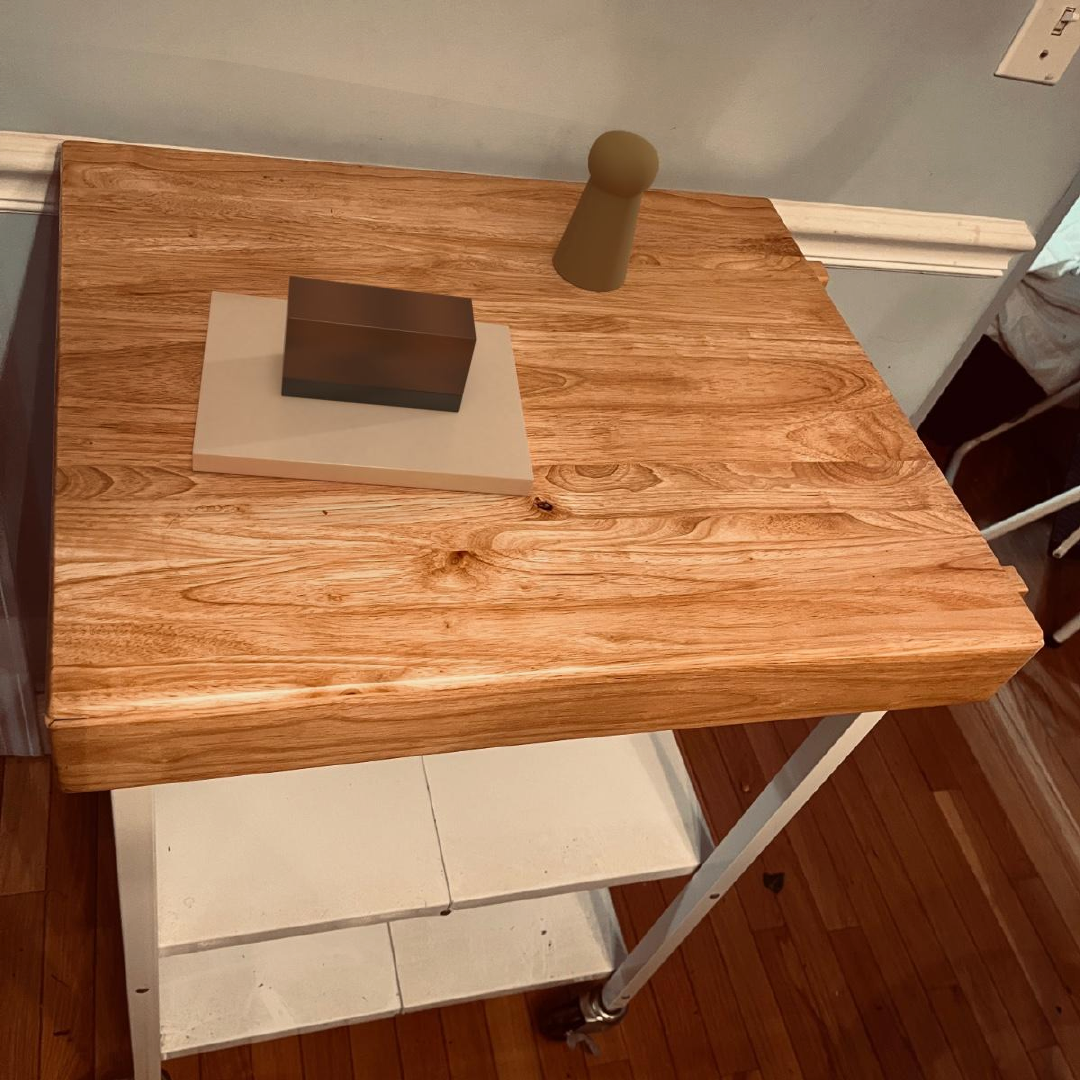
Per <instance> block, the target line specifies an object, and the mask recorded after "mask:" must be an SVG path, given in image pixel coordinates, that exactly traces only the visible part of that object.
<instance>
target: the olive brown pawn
mask: <svg viewBox="0 0 1080 1080" xmlns="http://www.w3.org/2000/svg"><path fill="white" fill-rule="evenodd" d="M659 168H660V160H659V155H658V151H657V149H656V148H655V146H654V145H653V144H652V143H651V142H650V141H648V140H647V139H646V138H645V137H643V136H641V135H639V134H637V133H635V132H631V131H626V130H620V129H619V130H617V129H614V130H609V131H605V132H603V133H602V134H600V135H599V136H598V137H597V138H596V139H595V141H593V143H592V145H591V147H590V150H589V153H588V156H587V169H588V173H589V175H590V176H589V177H588V180H587V182H586V185H585V186H584V188H583V191H582V193H581V195H580V198H579V199H578V202H577V204H576V206H575V208H574V210H573V212H572V214H571V217H570V219H569V221H568V223H567V225H566V228H565V230H564V232H563V233H562V236H561V239H560V241H559V243H558V245H557V247H556V249H555V252H554V254H553V256H552V264H553V265H552V266H553V268H554V269H555V270H556V272H557V274H558V275H560V276H561V277H562V278H563V279H564V280H565V281H567V282H568V283H571V284H572V285H574V286H575V287H578V288H581V289H584V290H586V291H594V292H598V293H599V292H611V291H614V290H617V289H619V288H621V286H623V285H624V283H625V281H626V277H627V272H628V267H629V263H630V259H631V254H632V253H631V252H632V248H633V243H634V238H635V233H636V228H637V223H638V219H639V212H640V209H641V203H642V198H643V195H644V194H643V193H645V192H646V191H647V190H649V189H650V188H651V186H652V185H653V184H654V182H655V180H656V177H657V174H658V172H659Z"/></svg>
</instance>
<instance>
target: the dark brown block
mask: <svg viewBox="0 0 1080 1080" xmlns="http://www.w3.org/2000/svg"><path fill="white" fill-rule="evenodd" d="M286 300H287V311H286V323H285V337H284V348H283V365H282V385H281V395H282V396H289V397H299V398H310V399H320V400H331V401H341V402H352V403H362V404H373V405H383V406H394V407H404V408H415V409H425V410H436V411H446V412H457V413H458V412H459V409H460V405H461V401H462V397H463V393H464V389H465V385H466V381H467V377H468V373H469V369H470V365H471V361H472V357H473V353H474V349H475V345H476V341H477V337H476V329H475V322H476V321H475V314H474V307H473V299H472V298H471V297H465V296H455V295H450V294H449V295H448V294H440V293H432V292H425V291H424V292H423V291H415V290H409V289H408V290H407V289H400V288H392V287H385V286H375V285H369V284H367V285H366V284H359V283H351V282H343V281H334V280H326V279H318V278H311V277H302V276H296V275H294V276H293V275H289V277H288V288H287V299H286Z"/></svg>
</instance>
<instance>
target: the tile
mask: <svg viewBox="0 0 1080 1080" xmlns="http://www.w3.org/2000/svg"><path fill="white" fill-rule="evenodd" d="M286 311H287V299H285V298H278V297H277V298H276V297H269V296H268V297H267V296H260V295H251V294H244V293H243V294H242V293H235V292H227V291H216V290H212V291H211V296H210V304H209V313H208V321H207V327H206V328H207V329H206V337H205V345H204V354H203V363H202V370H201V379H200V387H199V394H198V404H197V412H196V420H195V429H194V436H193V444H192V453H191V455H192V456H191V457H192V458H191V459H192V460H191V461H192V462H191V463H192V471H193V472H202V473H203V472H204V473H215V474H216V473H217V474H228V475H229V474H230V475H243V476H244V475H245V476H255V477H267V478H268V477H269V478H270V477H271V478H283V479H298V480H310V481H324V482H335V483H349V484H364V485H376V486H389V487H404V488H414V489H415V488H416V489H430V490H443V491H454V492H455V491H457V492H466V493H467V492H470V493H482V494H495V495H496V494H497V495H510V496H521V497H529V496H530V493H531V490H532V487H533V485H534V481H535V478H534V471H533V466H532V461H531V460H532V459H531V454H530V447H529V441H528V433H527V430H526V423H525V422H526V421H525V417H524V411H523V410H524V409H523V405H522V404H523V403H522V397H521V392H520V386H519V380H518V374H517V367H516V362H515V355H514V349H513V344H512V336H511V331H510V330H511V329H510V326H509V325H507V324H497V323H490V322H481V321H474V322H475V329H476V337H477V341H476V345H475V349H474V353H473V357H472V361H471V365H470V369H469V373H468V377H467V381H466V385H465V389H464V393H463V397H462V401H461V405H460V409H459V412H458V413H457V412H446V411H436V410H425V409H415V408H404V407H394V406H383V405H373V404H362V403H352V402H341V401H331V400H320V399H310V398H299V397H289V396H282V395H281V385H282V365H283V348H284V337H285V323H286Z"/></svg>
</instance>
